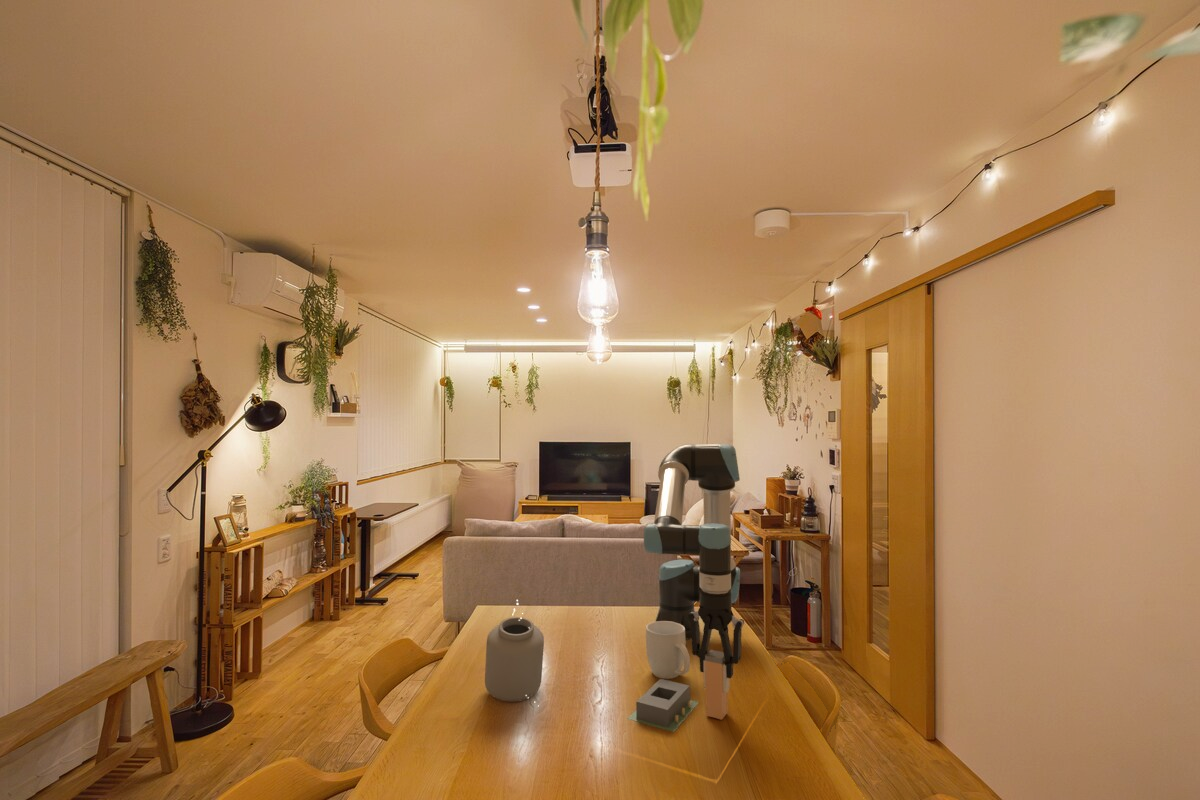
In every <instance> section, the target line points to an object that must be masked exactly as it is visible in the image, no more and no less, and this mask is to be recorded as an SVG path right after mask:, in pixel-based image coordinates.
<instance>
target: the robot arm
mask: <svg viewBox="0 0 1200 800" xmlns="http://www.w3.org/2000/svg"><path fill="white" fill-rule="evenodd" d="M736 452H737V451H736V447H734V445H731V444H722V443H713V444H712V443H711V444H710V443H707V444H705V443H704V444H702V443H701V444H700V443H699V444H696V443H695V444H692V443H690V444H689V443H688V444H687V443H686V444H682V445H680V446H676V447H675V448H673V449H672V450H671V451H670V452H668V453H667V454H666V455H665V456H664V457H663V459H662V460H661V462H660V465H659V467H658V471H657V474H658V475H657V476H658V479H659V481H660V482H659V488H658V494H657V495H658V496H657V500H656V507H655V514H654V519H653V520H654V521H653V523H648V524H646V525H645V526H644V528H643V529H644V530H643V547H644V551H645V552H647V553H652V554H659V555H686V556H698V557H699V558H698V559H699V565H695V563H694V561H693V560H691V559H683V558H682V559H674V560H670V561H666V562H663V563H662V565H661V564H660V567H659V571H658V573H659V575H658V576H659V577H658V580H659V582H658V583H659V584H658V585H659V598H658V599H659V600H658V601H659V607H658V608H659V609H658V611H657V616H656V618H655V621H654V622H657V621H670V622H675V623H679V624H681V625H683V626H684V627H685V640H689V639H691V654H692V655H693V656H697V657H698V658H699V671H700V672H701V673H703V689H706V673H705V655H706V654H707V653H708V652H709V646H710V642H711V637H712V630H716V631H718V635H719V637H720V641H721V642H720V643H721V647H722V652H723V653H724V658H725V662H724V663H723V693H726V692H727V693H728V691H729V690H730V679H732V678H733V675H734V664H738V663H739V662H740V661H741V658H742V629H743V627H744V624H745V621H744V619H743V618H740V619H739V618H737V617H736V616H734V613H733V611H732V604H735V603H736V602H737V601H738V598H739V592H740V584H741V583H740V582H741V581H740V580H741V568H739V567H738V566H736V565H737V564H736V562H735V560H734V559H733V558H732V556H731V554H732V552H731V551H732V538H731V536H732V534H731V531H732V529H731V528H732V527H731V524H732V523H731V518H732V517H731V514H732V513H731V491H733V489H735V487H736V483H738V482H739V481H740V480H741V479H740V472H739V465H738V458H737V457H738V456H737V453H736ZM689 481H693V482H694V481H695V482H698V487H699V488H700V490H702V491H703V492H702V493H703V495H702V496H703V497H702V498H703V500H702V501H703V524H701V525H691V524H683V514H684V512H683V511H684V500H685V489H686V484H687V483H688V482H689ZM695 602H696V603H699V607H698V610H697V611H695ZM700 619H701V621H702V622H703V624H704V625H703V634H702V639H701V638H700V633H701V632H700V631H701V630H700V627H701V626H700V622H699V620H700ZM731 622H732V628H733V637H732V640H733V641H732V642H733V643H732V645H731V641H730V635H729V624H730V623H731ZM732 648H733V649H732Z"/></svg>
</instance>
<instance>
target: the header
mask: <svg viewBox="0 0 1200 800" xmlns="http://www.w3.org/2000/svg"><path fill="white" fill-rule="evenodd" d="M690 690H691V687H690V685H688V684H684V683H680V682H677V681H672V680H669V679H664V678H660V679H659V680H658V681H656V682H655V683H654V684H653V685H652V686H651V687H650V688H649V689H648V690H647V691H645V693H643V694H642V696H640V697H639V698H638V700H636V701H635V703H636V704H635V705H636V707H635V710H634V711H633V712H632V713H631V714H630V715H629V716H628V717H627V718H626V719H627V720H630V721H634V722H637V723H641V724H644V725H647V726H651V727H655V728H658V729H662V730H665V731H668V732H673V733H675V732H676V730H677V729H678V728H679V727H680V726H681V724H682V723H683V722H684V721H685V720H686V718H688V717H689V715H690V713H691V712H692V711H693V710H694V709H695V708H696V707H697V705H698V704H699V701H696V700H692V699H691V691H690Z"/></svg>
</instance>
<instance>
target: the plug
mask: <svg viewBox="0 0 1200 800" xmlns="http://www.w3.org/2000/svg"><path fill="white" fill-rule="evenodd" d="M724 662H725V658H724V653H723V651H718V650H713V649H710V650H708V653H707V654H706V655H705V673H706V688H705V716H706V717H711V718H714V719H718V720H720V721H721V720H723V719H724V718H725V717H726V715H727V714H728V691H727V692H726V693H723V663H724Z"/></svg>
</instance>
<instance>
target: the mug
mask: <svg viewBox="0 0 1200 800" xmlns="http://www.w3.org/2000/svg"><path fill="white" fill-rule="evenodd" d="M686 643H687V642H686V639H685V627H684V626H683V625H681V624H679V623H675V622H670V621H657V622H655V621H653V622H650V623H647V625H646V626H645V646H646V647H645V649H646V657H647V661H648V664H649V668H650V670H651V672H652V674H653V675H654V676H655V677H656V678H660V679H664V680H669V679H675V678H677V677H678V676H682V675H686V674H687V673H688V672H689V670H690V667H691V658H690V654H689V650H688V649H687V647H686ZM683 666H684V667H683ZM682 669H683V670H682Z"/></svg>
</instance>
